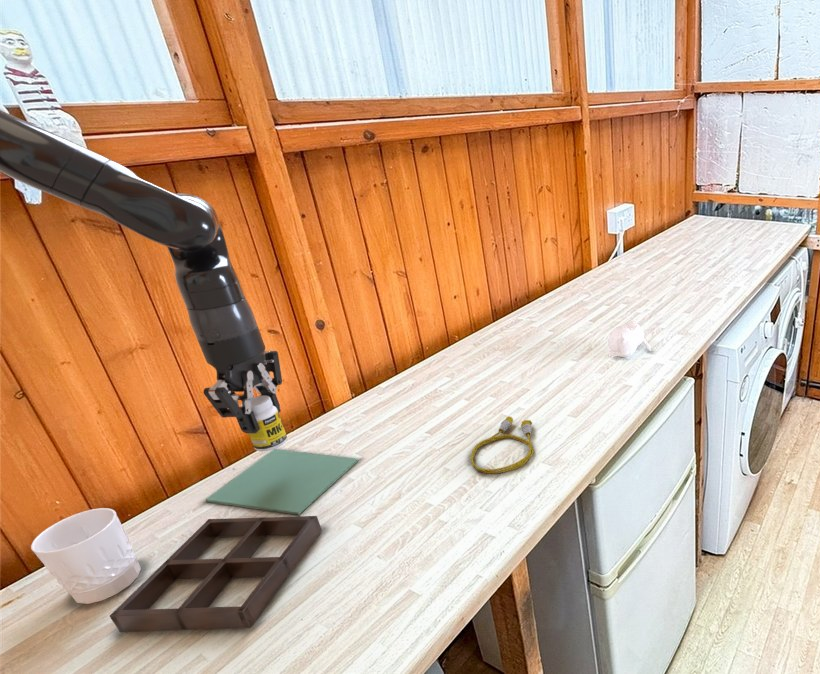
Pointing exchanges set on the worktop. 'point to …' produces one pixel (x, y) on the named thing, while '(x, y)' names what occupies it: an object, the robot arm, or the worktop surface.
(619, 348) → the cat figurine
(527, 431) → the extension cord
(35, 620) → the worktop surface
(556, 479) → the worktop surface
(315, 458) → the drying mat
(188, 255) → the robot arm
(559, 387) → the worktop surface
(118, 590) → the white cup
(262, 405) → the supplement bottle
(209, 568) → the brown compartment tray
